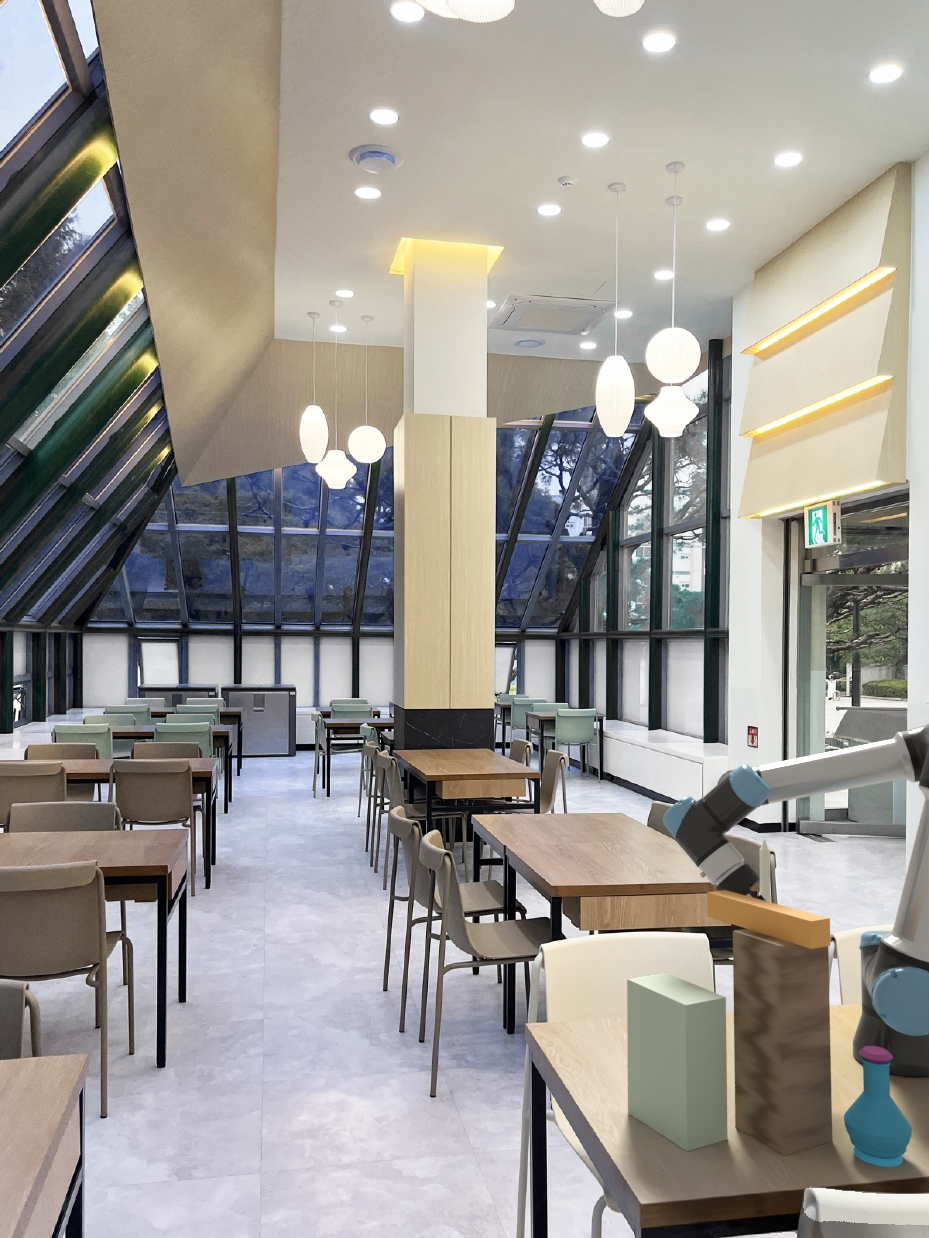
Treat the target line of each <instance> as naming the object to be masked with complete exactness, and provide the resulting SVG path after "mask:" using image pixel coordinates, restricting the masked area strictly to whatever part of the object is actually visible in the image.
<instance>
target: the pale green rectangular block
mask: <svg viewBox="0 0 929 1238" xmlns="http://www.w3.org/2000/svg"><path fill="white" fill-rule="evenodd" d="M626 984H627V985H626V986H627V987H626V991H627V994H626V995H627V996H626V997H627V1005H626V1006H627V1007H626V1009H627V1013H626V1014H627V1021H626V1022H627V1030H626V1031H627V1114H629V1115H630V1116H631V1117H633V1118H635V1119H637V1120H638V1121H639V1122H641V1123H643V1124H644V1125H646V1126H648V1127H649V1128H650V1129H652V1130H653V1131H655V1133H656V1132H657V1133H658V1134H660V1135H661V1136H663V1137H664V1138H666V1139H668V1140H669V1141H671V1142H672V1143H674V1144H675V1145H677V1146H678V1147H680V1148H681V1149H683V1150H684V1151H686V1152H689V1151H692V1150H693V1151H694V1150H697V1149H700V1148H703V1147H706V1146H707V1147H708V1146H711V1145H713V1144H716V1143H717V1144H718V1143H720V1142H723V1141H728V1137H729V1135H728V1133H729V1132H728V1078H727V1077H728V1071H727V1070H728V1068H727V1065H728V1062H727V1059H728V1058H727V1053H728V1051H727V997H726V996H723V995H721V994H719V993H716V992H714V991H711V990H709V989H707V988H704V987H702V986H699V985H696V984H694V983H692V982H689V981H687V980H684V979H682V978H680V977H677V976H675V975H673V974H669V973H668V972H662V973H655V974H650V975H643V976H639V977H634V978H633V977H632V978H627V982H626Z"/></svg>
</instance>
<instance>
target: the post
mask: <svg viewBox="0 0 929 1238" xmlns="http://www.w3.org/2000/svg"><path fill="white" fill-rule="evenodd" d="M732 961H733V962H732V963H733V964H732V968H733V970H732V972H733V975H732V976H733V1044H734V1045H733V1046H734V1047H733V1055H734V1060H733V1061H734V1120H735V1121H734V1125H735V1128H736V1129H737V1130H739V1131H741V1132H743V1133H744V1134H746V1135H748V1136H750V1137H752V1138H753V1139H755V1140H757V1141H758V1142H760V1143H762V1144H763V1145H766V1146H768V1147H769V1148H771V1149H773V1151H776V1152H778V1153H780V1154H782V1155H783V1156H789V1155H791V1154H794V1153H795V1154H796V1153H797V1152H801V1151H804V1150H807V1149H810V1148H814V1147H816V1146H819V1145H824V1144H826V1143H829V1142H832V1141H833V1113H832V1112H833V1107H832V1106H833V1105H832V1063H831V1061H832V1060H831V1058H832V1057H831V1013H830V1010H831V1009H830V1005H831V1003H830V964H829V962H830V961H829V946H825V947H820V948H814V949H810V948H807V947H804V946H801V945H797V944H794V943H791V942H788V941H785V940H781V939H778V938H775V937H772V936H769V935H765V934H762V933H759V932H756V931H753V930H749V929H746V928H743V929H736V930H732Z"/></svg>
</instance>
